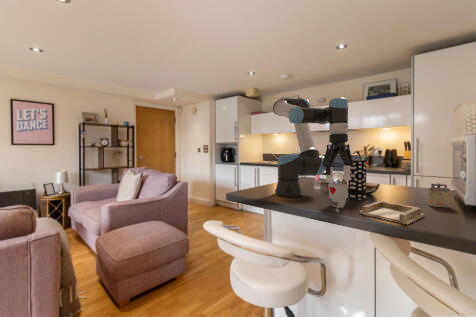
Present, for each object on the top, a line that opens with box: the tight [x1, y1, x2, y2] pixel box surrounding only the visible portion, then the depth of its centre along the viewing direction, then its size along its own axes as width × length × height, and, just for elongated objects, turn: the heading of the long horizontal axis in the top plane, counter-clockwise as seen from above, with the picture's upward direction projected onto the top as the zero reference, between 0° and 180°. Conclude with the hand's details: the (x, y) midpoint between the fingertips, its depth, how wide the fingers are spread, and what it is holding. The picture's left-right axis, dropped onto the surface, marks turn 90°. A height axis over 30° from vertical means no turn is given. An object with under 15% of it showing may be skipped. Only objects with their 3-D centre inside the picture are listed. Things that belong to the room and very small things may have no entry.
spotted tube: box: [347, 159, 368, 201], centre depth 110 cm, size 8×8×20 cm
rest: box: [358, 200, 425, 226], centre depth 83 cm, size 16×16×3 cm
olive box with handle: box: [428, 182, 451, 208], centre depth 93 cm, size 7×4×10 cm, turn 66°
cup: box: [327, 182, 348, 209], centre depth 96 cm, size 8×8×10 cm
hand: (338, 181), depth 95 cm, fingers open, 13 cm apart
